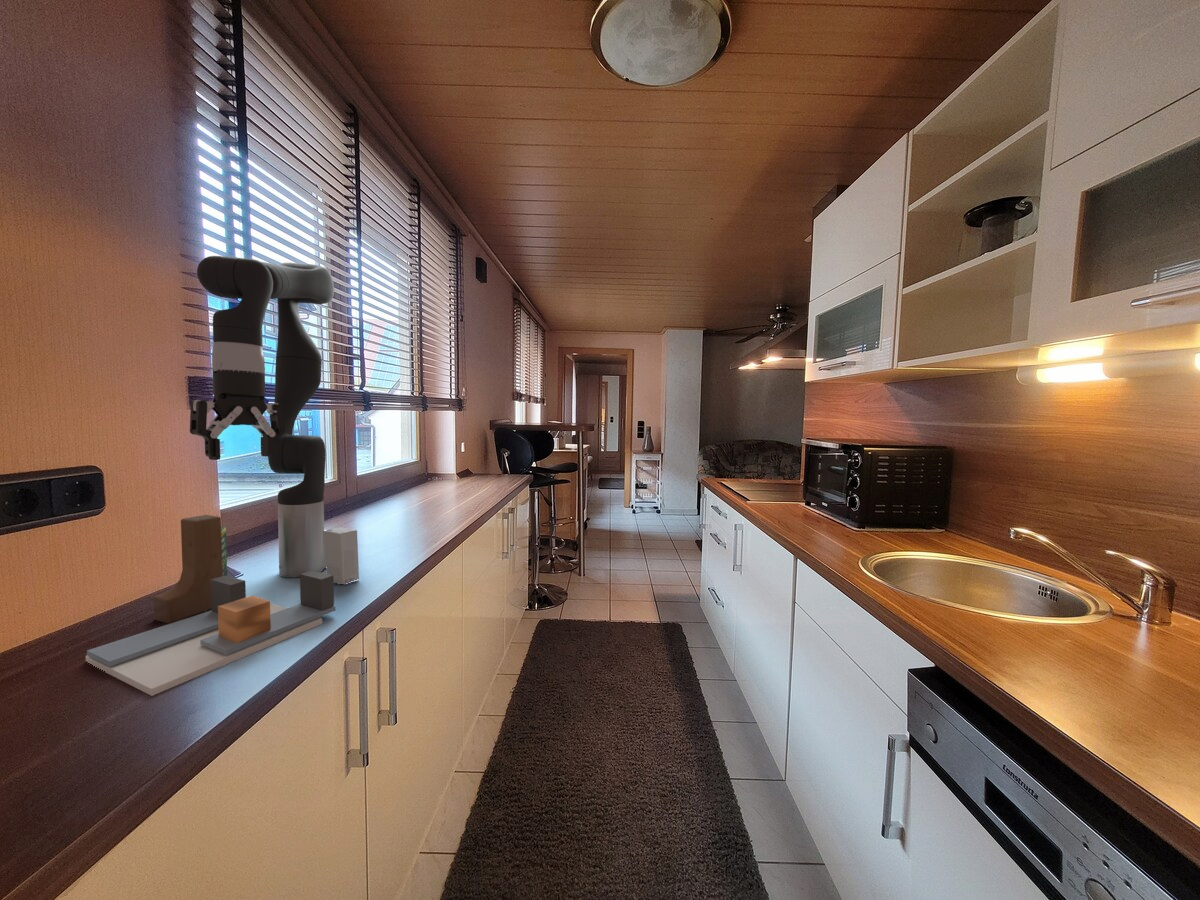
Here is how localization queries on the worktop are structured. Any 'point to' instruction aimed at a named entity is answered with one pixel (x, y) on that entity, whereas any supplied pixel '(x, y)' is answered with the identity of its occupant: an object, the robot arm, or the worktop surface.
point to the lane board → (186, 660)
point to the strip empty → (172, 627)
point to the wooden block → (193, 570)
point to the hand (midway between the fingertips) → (241, 457)
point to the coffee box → (224, 551)
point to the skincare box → (342, 554)
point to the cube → (244, 618)
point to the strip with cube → (288, 612)
